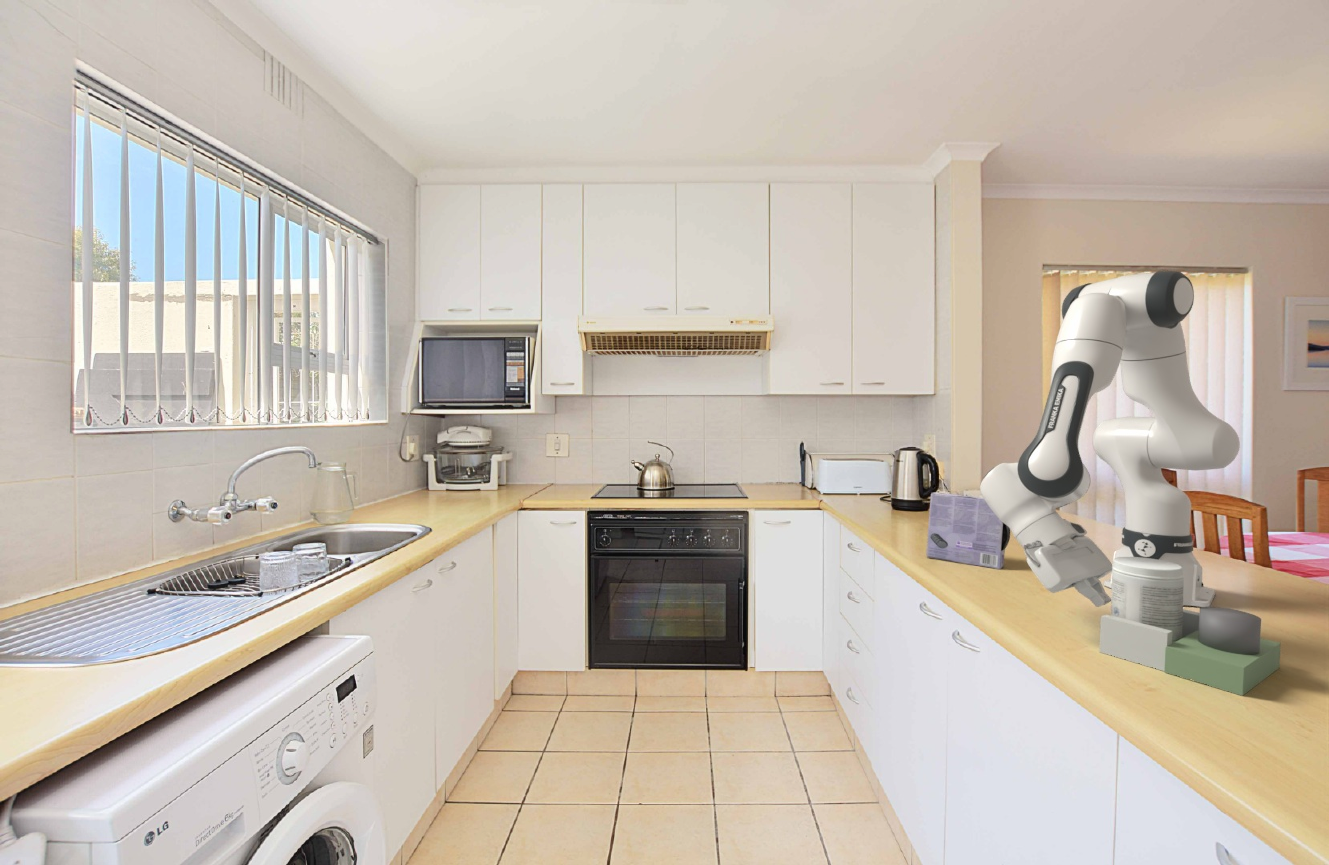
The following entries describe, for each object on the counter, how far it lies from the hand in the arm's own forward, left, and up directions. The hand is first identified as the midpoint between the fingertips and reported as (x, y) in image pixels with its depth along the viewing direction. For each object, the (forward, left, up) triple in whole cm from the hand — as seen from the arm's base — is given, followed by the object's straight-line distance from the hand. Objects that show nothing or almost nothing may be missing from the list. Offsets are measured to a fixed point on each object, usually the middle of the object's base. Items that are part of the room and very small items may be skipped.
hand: (1104, 604), depth 109 cm
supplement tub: (0, +6, -6) cm, 9 cm away
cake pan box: (-30, -43, -6) cm, 53 cm away
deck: (0, +12, -6) cm, 13 cm away
